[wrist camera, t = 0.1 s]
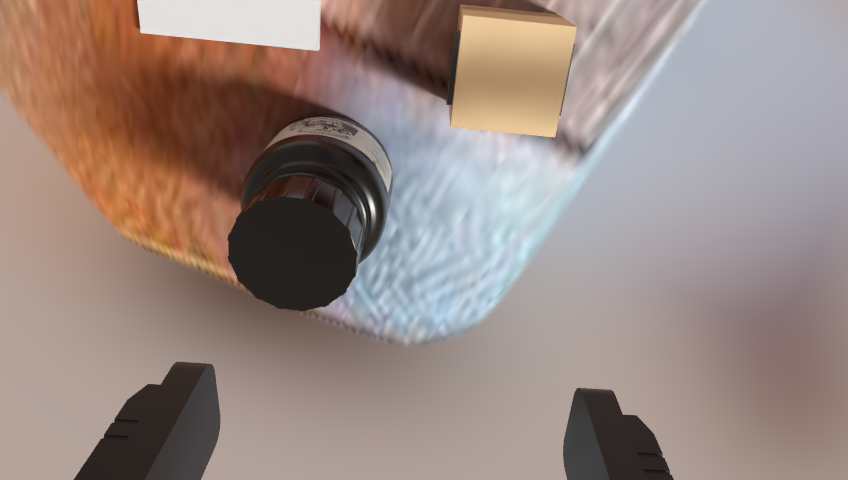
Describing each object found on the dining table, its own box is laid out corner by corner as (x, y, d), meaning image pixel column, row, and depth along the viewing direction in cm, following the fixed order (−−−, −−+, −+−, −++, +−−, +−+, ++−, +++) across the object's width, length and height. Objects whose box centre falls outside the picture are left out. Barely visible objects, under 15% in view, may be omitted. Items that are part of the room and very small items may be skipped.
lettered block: (455, 3, 37) (457, 14, 31) (561, 14, 37) (582, 27, 32) (444, 100, 39) (445, 126, 34) (543, 110, 40) (560, 137, 34)
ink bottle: (411, 130, 40) (401, 200, 30) (386, 244, 44) (369, 342, 33) (267, 97, 40) (203, 156, 29) (254, 216, 43) (193, 307, 33)
